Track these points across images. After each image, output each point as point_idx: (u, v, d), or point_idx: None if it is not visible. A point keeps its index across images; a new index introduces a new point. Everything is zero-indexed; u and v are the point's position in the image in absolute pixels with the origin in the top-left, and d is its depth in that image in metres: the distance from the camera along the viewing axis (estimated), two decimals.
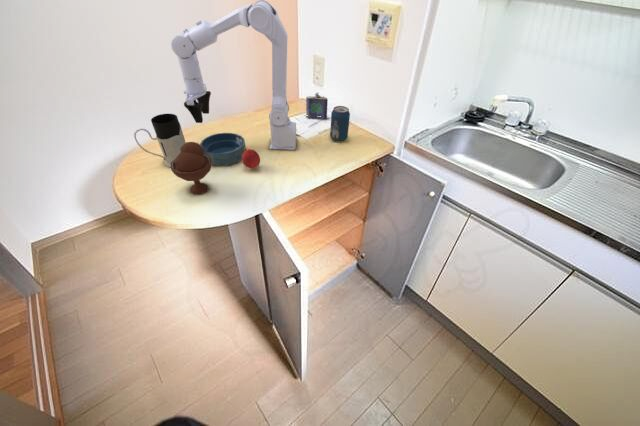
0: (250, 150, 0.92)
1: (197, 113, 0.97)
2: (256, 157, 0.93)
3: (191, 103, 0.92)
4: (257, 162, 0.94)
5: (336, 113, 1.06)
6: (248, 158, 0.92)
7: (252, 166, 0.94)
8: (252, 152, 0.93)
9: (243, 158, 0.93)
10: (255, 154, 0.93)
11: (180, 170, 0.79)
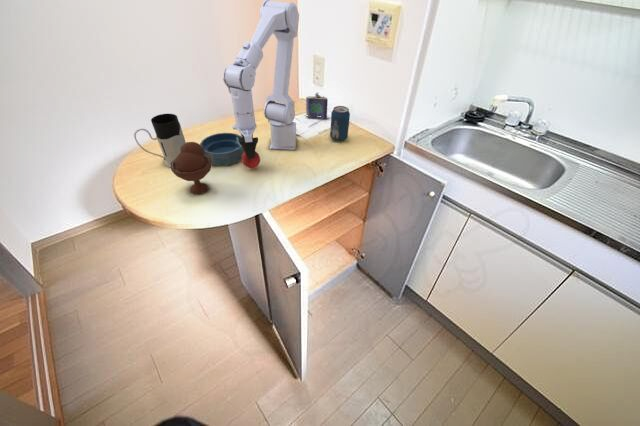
0: None
1: (251, 149, 0.88)
2: (256, 157, 0.93)
3: (250, 140, 0.83)
4: (257, 162, 0.94)
5: (336, 113, 1.06)
6: None
7: (252, 166, 0.94)
8: None
9: (243, 158, 0.93)
10: (255, 154, 0.93)
11: (180, 170, 0.79)
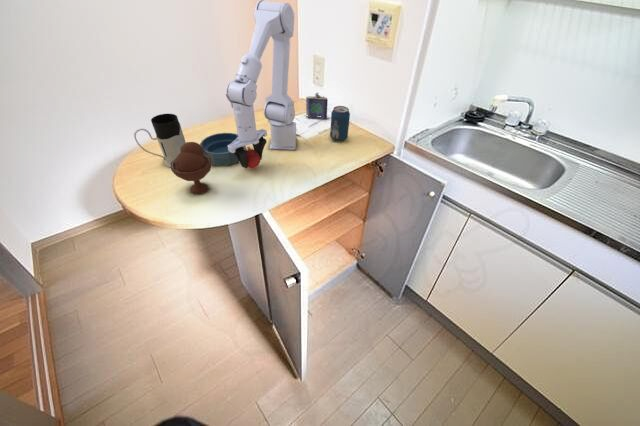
0: (250, 150, 0.92)
1: None
2: (256, 157, 0.93)
3: None
4: (257, 162, 0.94)
5: (336, 113, 1.06)
6: (248, 158, 0.92)
7: (252, 166, 0.94)
8: (252, 152, 0.93)
9: None
10: (255, 154, 0.93)
11: (180, 170, 0.79)
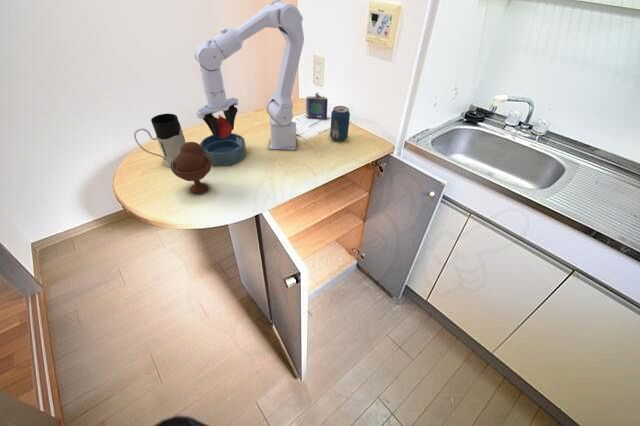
0: (221, 118, 0.93)
1: None
2: (227, 125, 0.94)
3: None
4: (228, 130, 0.94)
5: (336, 113, 1.06)
6: (219, 126, 0.92)
7: (223, 134, 0.94)
8: (223, 120, 0.93)
9: None
10: (226, 122, 0.93)
11: (180, 170, 0.79)
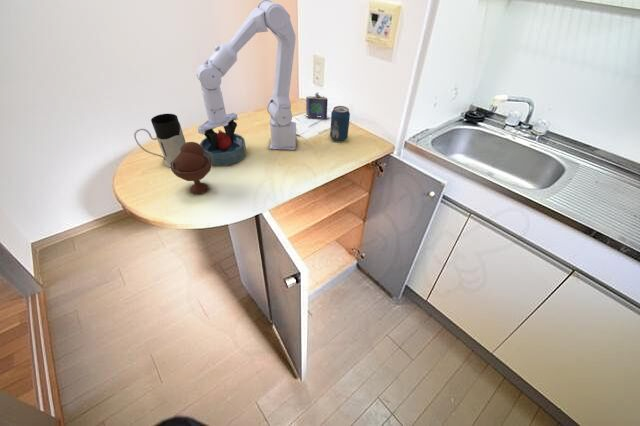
0: (221, 133, 0.97)
1: None
2: (227, 139, 0.98)
3: None
4: (228, 144, 0.99)
5: (336, 113, 1.06)
6: (219, 140, 0.97)
7: (223, 148, 0.99)
8: (223, 134, 0.97)
9: None
10: (226, 136, 0.98)
11: (180, 170, 0.79)
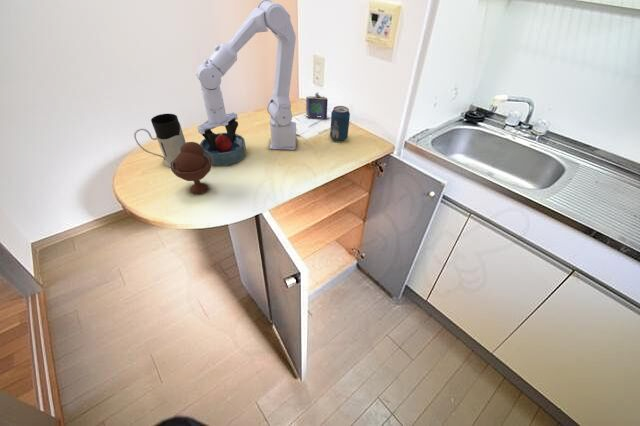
0: (221, 136, 0.98)
1: None
2: (227, 142, 0.99)
3: None
4: (229, 147, 0.99)
5: (336, 113, 1.06)
6: (219, 143, 0.98)
7: (224, 151, 0.99)
8: (223, 138, 0.98)
9: None
10: (226, 140, 0.98)
11: (180, 170, 0.79)
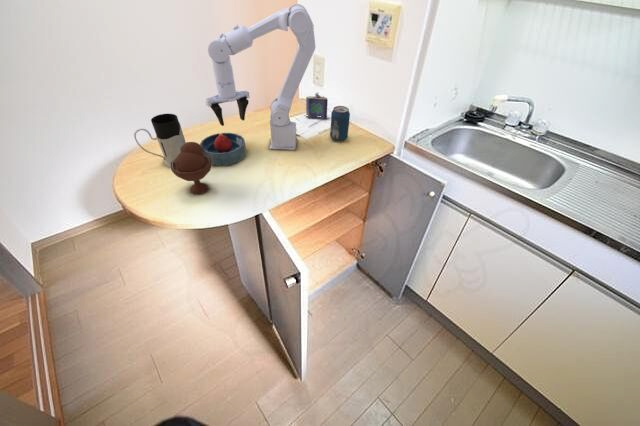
0: (221, 136, 0.98)
1: None
2: (227, 142, 0.99)
3: None
4: (229, 147, 0.99)
5: (336, 113, 1.06)
6: (219, 143, 0.98)
7: (224, 151, 0.99)
8: (223, 138, 0.98)
9: (215, 143, 0.98)
10: (226, 140, 0.98)
11: (180, 170, 0.79)
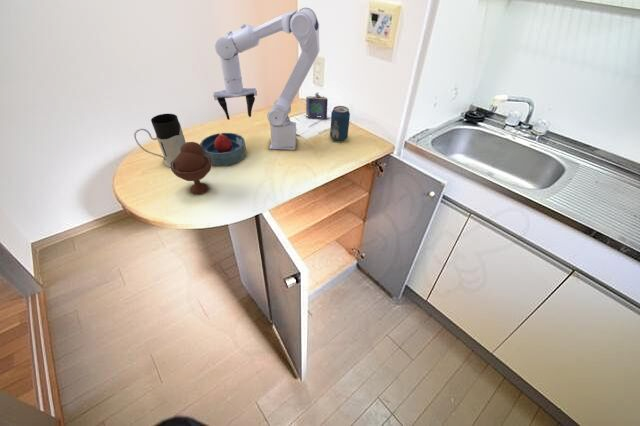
0: (221, 136, 0.98)
1: None
2: (227, 142, 0.99)
3: None
4: (229, 147, 0.99)
5: (336, 113, 1.06)
6: (219, 143, 0.98)
7: (224, 151, 0.99)
8: (223, 138, 0.98)
9: (215, 143, 0.98)
10: (226, 140, 0.98)
11: (180, 170, 0.79)
